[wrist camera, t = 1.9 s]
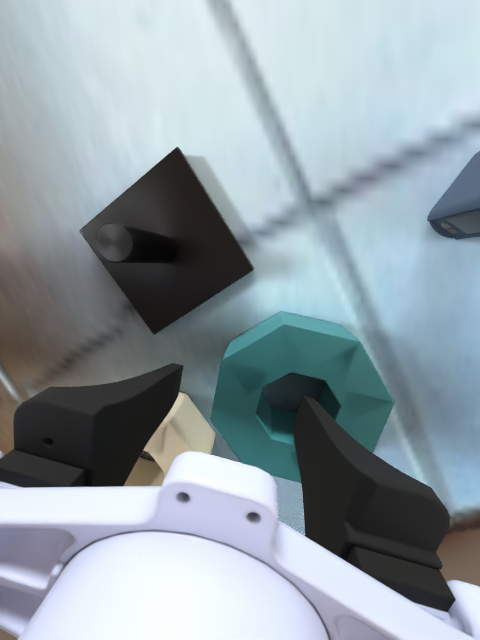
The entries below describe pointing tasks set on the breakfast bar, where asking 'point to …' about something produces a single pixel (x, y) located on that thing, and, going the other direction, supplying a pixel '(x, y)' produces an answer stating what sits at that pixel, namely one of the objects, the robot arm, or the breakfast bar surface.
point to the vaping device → (460, 205)
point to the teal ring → (301, 358)
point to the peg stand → (167, 243)
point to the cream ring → (173, 442)
